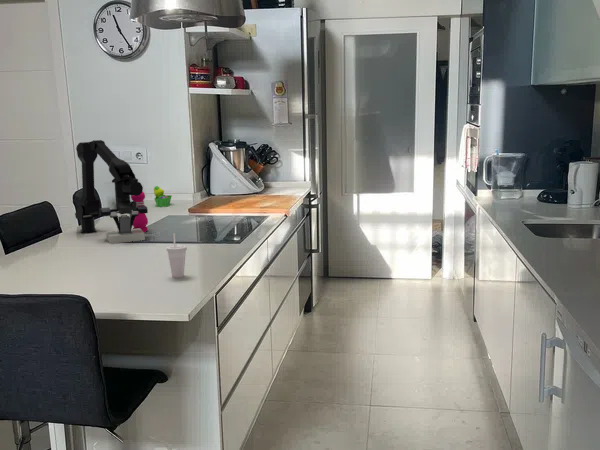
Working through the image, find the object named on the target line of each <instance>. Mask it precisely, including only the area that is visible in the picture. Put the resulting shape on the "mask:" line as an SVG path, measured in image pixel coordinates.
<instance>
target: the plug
mask: <svg viewBox="0 0 600 450" xmlns="http://www.w3.org/2000/svg"><path fill="white" fill-rule="evenodd" d="M118 220H119V225H120V234H125V233H131V229H130V215H128V214H120V216H118Z"/></svg>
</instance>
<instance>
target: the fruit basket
mask: <svg viewBox="0 0 600 450" xmlns="http://www.w3.org/2000/svg"><path fill="white" fill-rule="evenodd" d="M153 193H154V202H155V204H156V207H157V208H163V207H164V208H166V207H168V206H169V205H170V204H171V200H172V197H173V196H172V195H170V194H169V195H166V194H164V193H165V190H164V189H162V188H161V187H160V186H158V185H155V186H154V187H153Z"/></svg>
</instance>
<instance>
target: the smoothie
mask: <svg viewBox="0 0 600 450" xmlns="http://www.w3.org/2000/svg"><path fill="white" fill-rule="evenodd" d="M172 237H173V244H172V245H168V246H166V252H167V255H168V256H167V257H168V260H169V266H170V267H169V268H170V273H171V277H172V278H175V279H176V278H177V279H178V278H184V277H185V268H186V267H185V266H186V256H187V255H186V252H187V250H188V248H187V245H185V244H176V233H172Z"/></svg>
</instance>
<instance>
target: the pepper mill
mask: <svg viewBox="0 0 600 450" xmlns="http://www.w3.org/2000/svg"><path fill="white" fill-rule="evenodd" d="M145 198H146V194H145V192H144V191H142V193H141V194H140V195H138V196H134V195H130V200H132V201H136V205H145V201H144V200H145ZM138 214H139V215H138V216H136V217H135V219H134V222H133V225H132V229H137V228H140V229H141V230H142V231H143V232H144V233H147V232H148V227H147V225H148V223H149V221H148V217H147V215H146V213H143V214H140V213H139V212H138ZM146 231H147V232H146Z"/></svg>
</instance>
